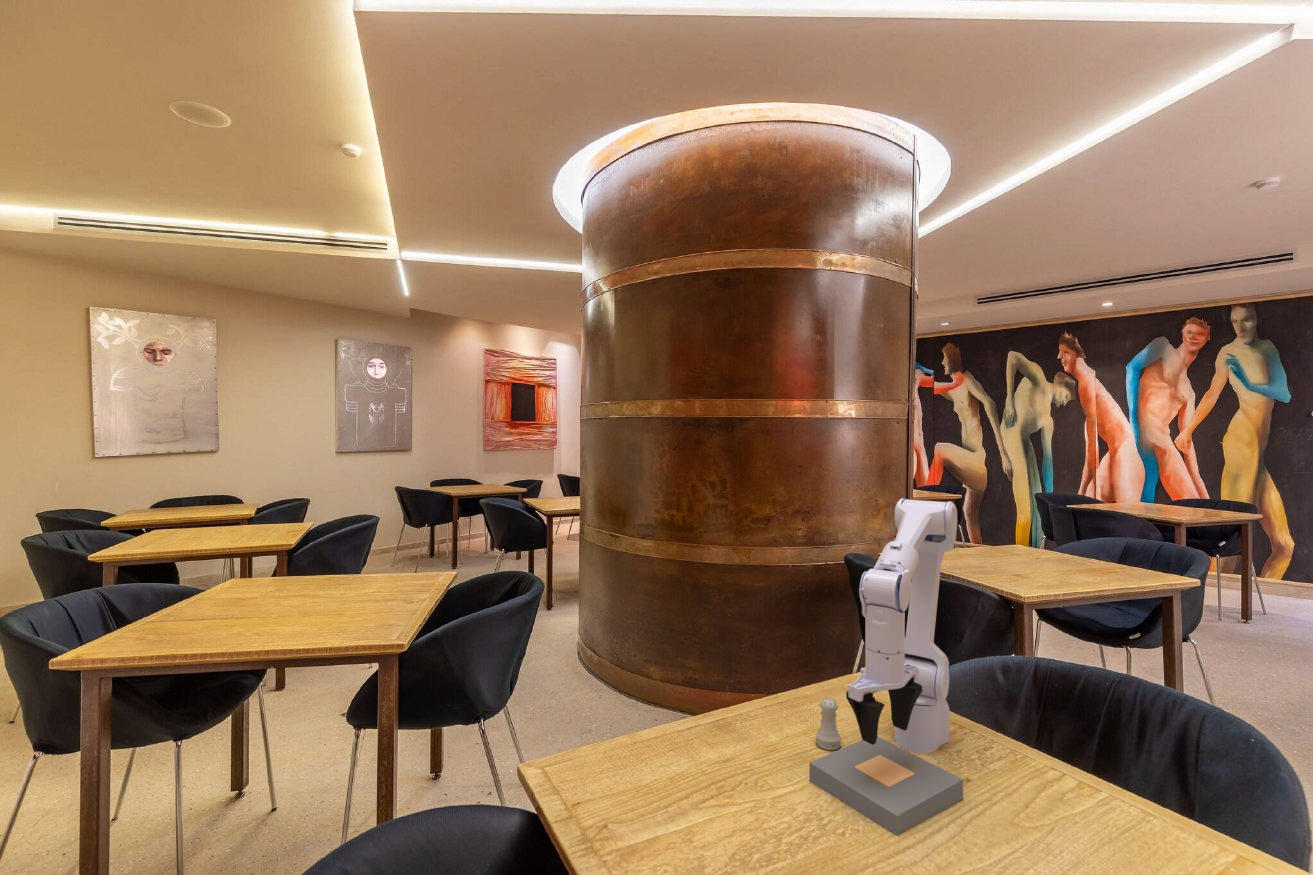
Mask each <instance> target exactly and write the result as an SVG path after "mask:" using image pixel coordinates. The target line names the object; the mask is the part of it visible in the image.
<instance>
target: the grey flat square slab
mask: <svg viewBox="0 0 1313 875" xmlns="http://www.w3.org/2000/svg"><path fill="white" fill-rule="evenodd" d="M808 769H809V770H808V771H809V772H808V773H809V782H810V783H811V784H813V785H815V786H817V787H818V788H819V789H821V790H823V791H825V792H826V793H828V794H829V795H831V796H832V797H834V798H836V799H837V800H839V801H841V802H842V803H843V804H845V805H847V806H849V807H850V808H851V809H854V810H855V811H857V812H858V813H860V814H862V815H863V816H865V817H866V818H867V819H870V820H871V821H873V822H874V823H876V824H877V825H879V826H881V827H882V828H884V829H885V830H887V831H889V832H890V833H892V834H894V835H895V836H899V835H901V834H902V833H904V832H906V831H909V830H910V829H912V828H914V827H916V826H917V825H919V824H921V823H923V822H925V821H927V820H929V819H930V818H932V817H935V816H936V815H938V814H940V813H941V812H943V811H945V810H947V809H948V808H950V807H952V806H953V805H956V804H957V803H959V802H960V801H962V800H963V799H964V778H961V777H959V776H957V775H955V774H953V773H952V772H949V771H947V770H945V769H944V768H941V767H940V766H937V765H935V764H933V763H932V762H929V761H927V760H926V759H924V758H921V757H919V756H918V755H915V754H913V752H912V753H911V751H910V752H909V750H906V749H904V748H902V747H901V746H899V745H897V744H896V745H895V744H894V743H891V741H888V740H886V739H885V738H882V737H880V736H878V735H877V740H876V744H874V745H872V744H870V743H868V742H866V741H864V740H862V739H861V740H859V741H857V742H855V743H852V744H850V745H848V746H845V747H842V748H839V749H837V750H834V751H833V752H830V753H828V754H826V755H824V756H822V757H819V758H817V759H813V760H812V761H810V762H809V768H808Z"/></svg>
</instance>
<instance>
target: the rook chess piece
mask: <svg viewBox="0 0 1313 875" xmlns="http://www.w3.org/2000/svg"><path fill="white" fill-rule="evenodd" d="M819 707H820V709H821V711H820V716H821V720H820V721H821V722H820V725H819V726H820V727H819V728H818V731H816V735H815V737H816V738H815V742H816V745H817V746H818V747H819V748H820V749H823V750H825V751H838V750H839V749H840V748H841V746H842V742H841V740H842V736H841V735H840V733H839V730H838V728H837V727H838V726H837V720H836V719H837V716H838V715H837V712H836V711H837V710H838V708H839V705H838V704H837V700H836V699H834V697H830V699H829V697H828V696H826V697H822V698H821V701H820V702H819Z"/></svg>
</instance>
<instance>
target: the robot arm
mask: <svg viewBox="0 0 1313 875" xmlns="http://www.w3.org/2000/svg"><path fill="white" fill-rule="evenodd" d="M894 524H895V527H896V529H897V533H896V537H895V539H894V540H892V541H889V542H888V543H886V544H885V546H883V550H882V551H881V553H880V555H879V557H878V559H877V561H876V563H875V565H874V567H873V568H869V570H865V571H864V572H863V573H862V575H861V578H860V582H859V589H858V590H859V592H858V594H859V599H860V603H861V614H862V616H863V617H864V619H865V621H864V622H865V628H864V629H865V635H864V636H865V639H864V640H865V643H864V644H865V647H864V648H865V650H864V651H865V653H864V654H865V658H864V659H865V661H864V662H865V666H864V667H861V668H860V674H861V675H859V676H858V678H857V679H856V680H855V681H854V682H851V683H849V684H848V690H846V695H845V696H846V700H847V702H848V704H849V705H850V707H851V709H852V711H853V713H854V717H855V718H856V722H857V725H858V728H859V732H860V737H861V740H864V741H866V742H868V743H870V744H872V745H874V744H876V740H877V736H878V731H879V723H880V722H879V721H880V718H881V714H882V711H883V710H884V707H885V704H884V703H882V702H881V701H878V700H876V697H875V696H874V694H876V693H878V692H881V691H888V695H889V701H890V712H891V722H892V726H893V727H894V741H895V744H896V745H897V746H898V747H900V748H902V749H904V750H906V751H908V752H909V751H910V752H912V753H913V752H914V753H916V754H917V753H918V754H932V753H935V752H936V751H938V749H939V748H940V747H941V746H943V745H945V744H947V743H949V742H950V718H951V717H950V712H951V711H950V707H949V704H948V702H947V700H946V699H947V696H948V693H949V688H950V670H949V666H950V662H949V658H948V656H947V655H946V653H945V652H943V651H942V649H940V648H939V647H938V646H937V645H936V643H935V642H934V641H935V633H936V632H935V629H936V622H937V621H936V619H937V610H938V609H937V608H938V601H939V600H938V599H939V591H940V590H939V589H940V579H941V569H942V562H943V559H944V555H945V553H947V552H949V551H951V550H954V548H955V544H956V540H957V530H958V528H957V527H958V509H957V506H956V504H954V502H953V501H951V500H950V501H934V500H933V501H932V500H920V499H919V500H917V499H907V498H900V499H899V500H898V501H897V502H896V505H895V508H894ZM907 609H908V610H907ZM905 611H908V612H907V620H906V622H905V618H906V616H905V615H906V614H905V613H906V612H905ZM905 625H906V627H905ZM905 628H906V629H905ZM905 630H906V631H905ZM906 655H909V656H913V657H909V656H906ZM914 657H919V658H923V659H919V658H914ZM924 659H927V660H924ZM928 660H932V661H928ZM933 661H934V662H933Z"/></svg>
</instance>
